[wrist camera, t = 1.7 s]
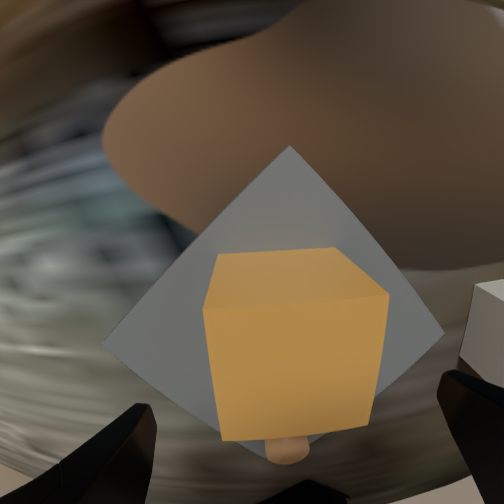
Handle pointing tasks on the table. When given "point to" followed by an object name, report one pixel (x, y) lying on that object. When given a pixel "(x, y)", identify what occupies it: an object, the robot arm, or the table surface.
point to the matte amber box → (293, 342)
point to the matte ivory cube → (486, 332)
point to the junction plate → (261, 240)
